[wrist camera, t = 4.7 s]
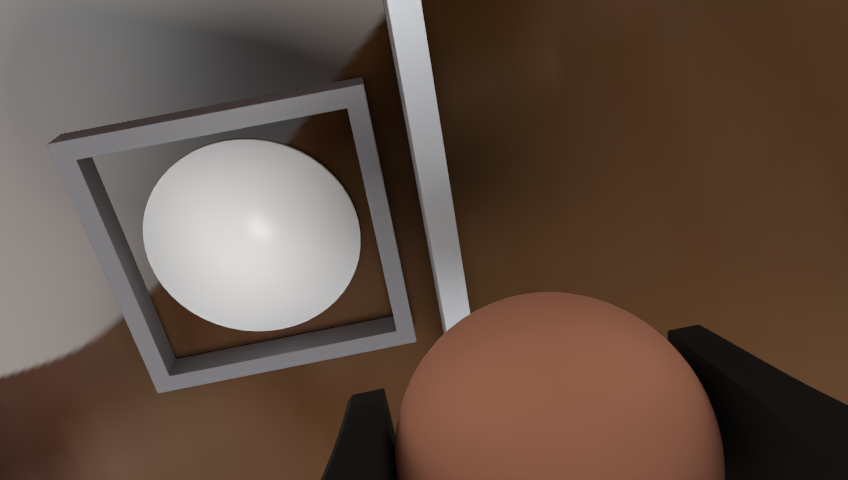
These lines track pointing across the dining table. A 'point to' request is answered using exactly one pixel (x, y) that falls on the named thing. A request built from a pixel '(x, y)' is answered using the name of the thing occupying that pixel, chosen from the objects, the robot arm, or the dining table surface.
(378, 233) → the grey square frame
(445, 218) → the acrylic wall
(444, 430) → the ball
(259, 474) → the dining table surface
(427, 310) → the dining table surface
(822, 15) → the dining table surface
